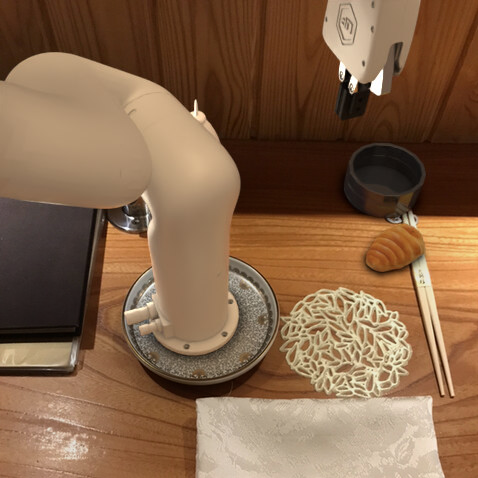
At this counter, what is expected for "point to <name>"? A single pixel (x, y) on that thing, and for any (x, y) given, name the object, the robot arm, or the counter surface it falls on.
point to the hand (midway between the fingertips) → (349, 113)
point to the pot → (383, 180)
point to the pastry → (395, 248)
